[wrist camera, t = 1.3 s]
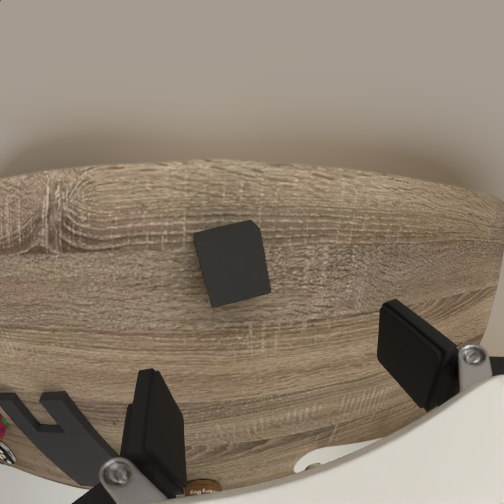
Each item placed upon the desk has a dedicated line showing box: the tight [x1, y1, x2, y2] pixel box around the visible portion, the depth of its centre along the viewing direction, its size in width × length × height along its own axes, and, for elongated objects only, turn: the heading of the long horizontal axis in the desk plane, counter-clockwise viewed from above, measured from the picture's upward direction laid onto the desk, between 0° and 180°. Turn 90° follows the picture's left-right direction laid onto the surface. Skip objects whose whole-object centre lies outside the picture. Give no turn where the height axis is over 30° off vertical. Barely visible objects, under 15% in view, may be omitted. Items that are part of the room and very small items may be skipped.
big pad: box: [0, 391, 120, 487], centre depth 26 cm, size 22×13×2 cm, turn 11°
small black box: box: [194, 220, 271, 308], centre depth 21 cm, size 5×4×3 cm
